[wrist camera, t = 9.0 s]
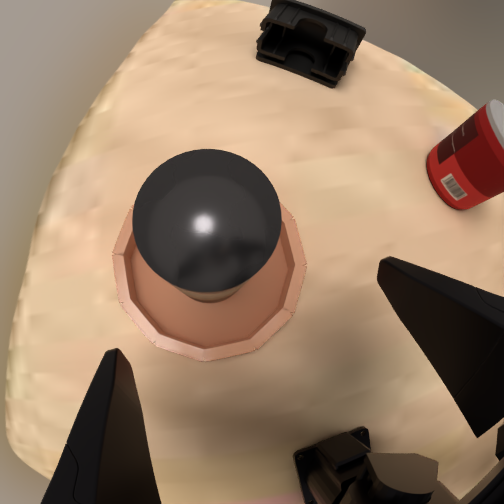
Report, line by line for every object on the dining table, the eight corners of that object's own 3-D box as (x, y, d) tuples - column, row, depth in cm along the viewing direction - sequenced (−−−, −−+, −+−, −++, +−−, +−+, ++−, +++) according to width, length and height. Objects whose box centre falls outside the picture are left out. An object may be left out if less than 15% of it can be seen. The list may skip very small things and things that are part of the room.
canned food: (476, 217, 26) (545, 185, 15) (429, 203, 25) (507, 157, 15) (464, 160, 28) (523, 119, 17) (419, 140, 27) (479, 85, 16)
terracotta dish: (311, 330, 21) (323, 332, 19) (143, 367, 19) (135, 373, 17) (271, 174, 23) (277, 159, 21) (116, 203, 21) (106, 191, 19)
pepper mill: (253, 294, 21) (298, 273, 10) (180, 310, 20) (144, 305, 9) (237, 224, 21) (261, 140, 11) (167, 238, 21) (126, 164, 10)
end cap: (347, 59, 28) (368, 21, 22) (338, 92, 27) (363, 49, 20) (270, 29, 28) (281, -13, 21) (250, 58, 26) (259, 10, 20)
